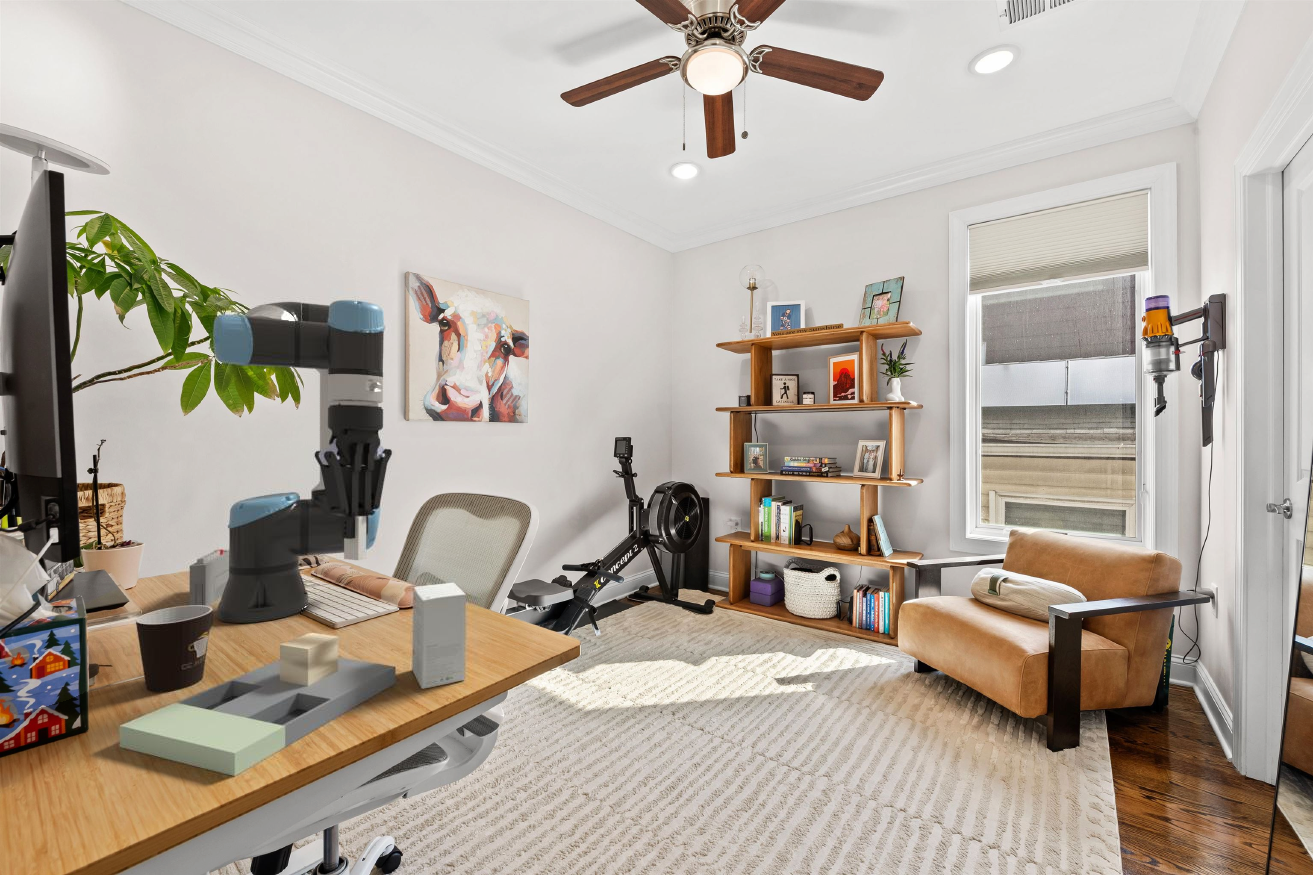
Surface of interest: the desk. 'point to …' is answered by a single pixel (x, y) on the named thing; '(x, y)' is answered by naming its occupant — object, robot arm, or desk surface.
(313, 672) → the maple block
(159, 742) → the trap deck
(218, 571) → the cassette player
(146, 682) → the coffee mug
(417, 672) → the small box
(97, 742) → the desk surface
